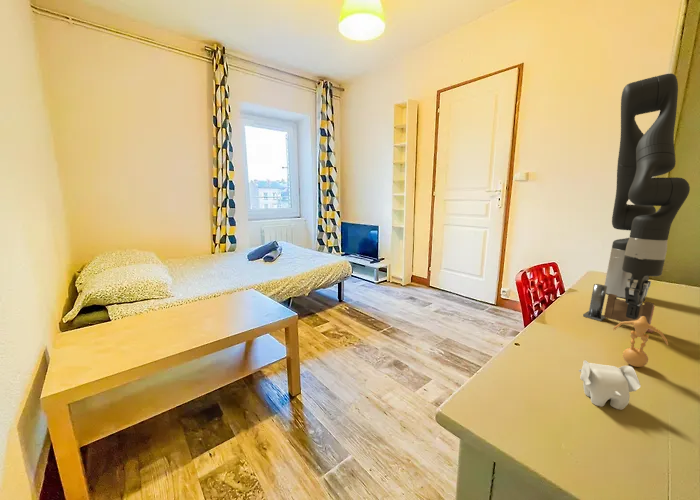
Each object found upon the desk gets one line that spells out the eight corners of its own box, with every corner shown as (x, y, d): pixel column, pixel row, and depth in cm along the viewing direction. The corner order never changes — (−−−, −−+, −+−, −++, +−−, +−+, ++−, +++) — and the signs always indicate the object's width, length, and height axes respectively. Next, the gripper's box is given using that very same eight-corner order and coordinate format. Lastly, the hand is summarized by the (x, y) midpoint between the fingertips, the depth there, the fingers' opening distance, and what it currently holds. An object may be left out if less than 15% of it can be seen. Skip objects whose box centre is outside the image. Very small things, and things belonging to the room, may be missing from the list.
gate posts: (589, 311, 93) (595, 281, 91) (655, 329, 81) (663, 295, 79) (583, 316, 89) (588, 284, 87) (650, 335, 78) (658, 299, 76)
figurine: (661, 371, 62) (674, 318, 59) (658, 382, 58) (672, 326, 56) (610, 354, 68) (620, 305, 66) (604, 363, 64) (615, 312, 62)
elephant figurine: (608, 384, 57) (615, 351, 56) (643, 421, 48) (653, 382, 47) (564, 378, 59) (570, 345, 58) (589, 412, 50) (597, 374, 48)
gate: (603, 317, 86) (608, 294, 85) (605, 315, 87) (609, 293, 86) (647, 328, 79) (652, 304, 78) (648, 327, 80) (654, 303, 79)
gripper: (632, 251, 83) (620, 308, 86) (617, 255, 76) (606, 318, 79) (670, 255, 77) (656, 317, 80) (658, 260, 70) (644, 328, 73)
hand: (631, 317), depth 80 cm, fingers closed
